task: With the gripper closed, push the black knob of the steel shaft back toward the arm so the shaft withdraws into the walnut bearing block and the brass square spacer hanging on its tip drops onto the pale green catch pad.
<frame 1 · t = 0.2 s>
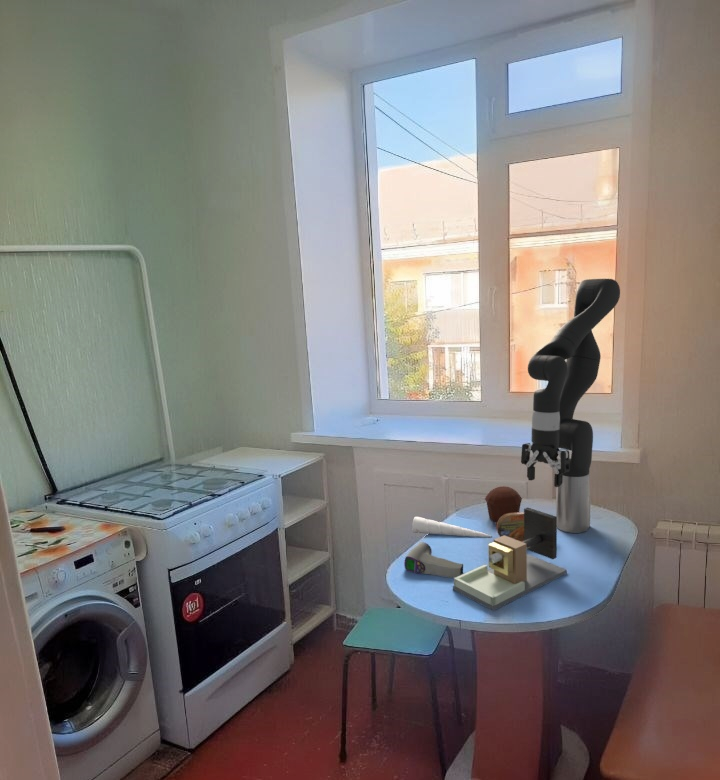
hand: (544, 483, 170), 17 cm above the table, fingers open, 8 cm apart
infrared thermometer: (437, 567, 161), on the table
muffin: (503, 519, 191), on the table
unicorn horn: (449, 534, 182), on the table
shaft: (517, 542, 151), point 9 cm above the table, slide at 0.0 cm, touching spacer
tin: (522, 541, 174), on the table
shaft rig: (510, 581, 150), on the table
spacer: (500, 570, 148), point 4 cm above the table, touching shaft
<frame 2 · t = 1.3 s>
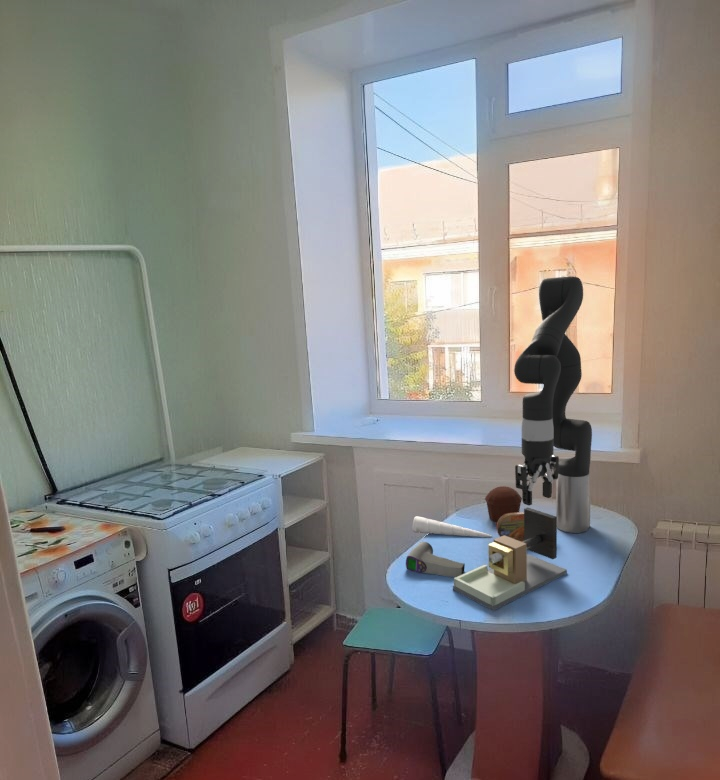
hand: (537, 500, 149), 20 cm above the table, fingers open, 7 cm apart
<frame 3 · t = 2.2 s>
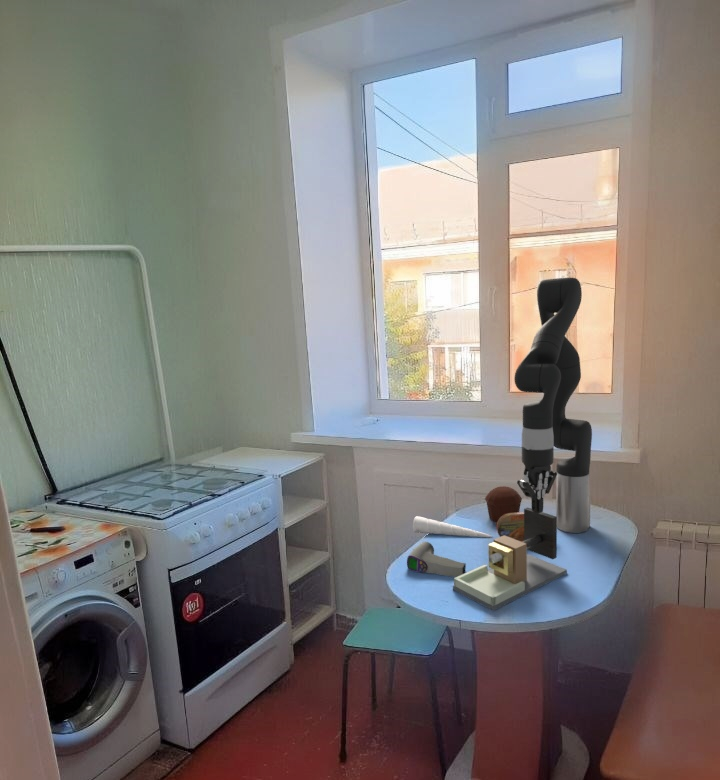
hand: (537, 511, 150), 17 cm above the table, fingers closed
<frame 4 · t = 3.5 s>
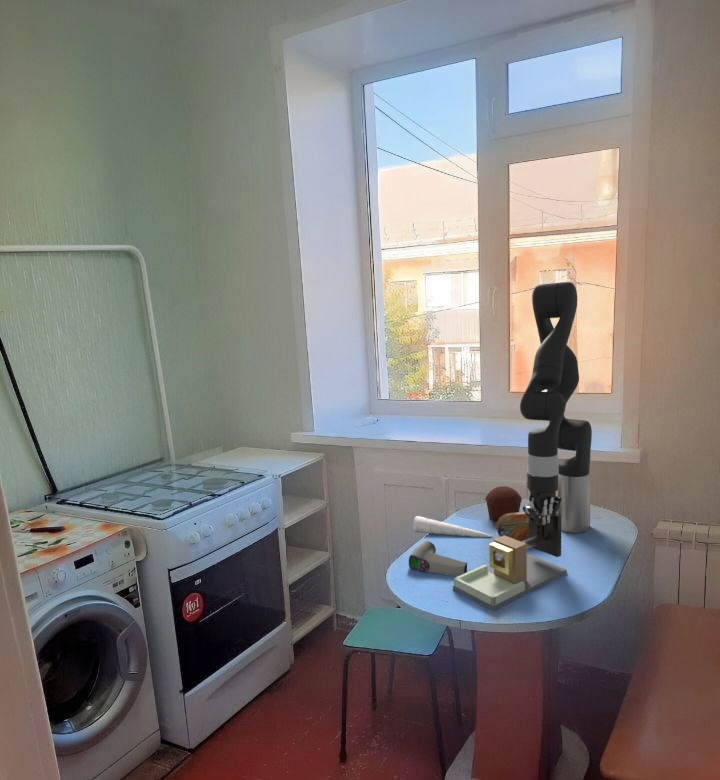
hand: (542, 536, 152), 10 cm above the table, fingers closed
shaft: (522, 540, 152), point 9 cm above the table, slide at 1.9 cm, touching hand, spacer
spacer: (502, 569, 148), point 4 cm above the table, touching shaft, shaft rig
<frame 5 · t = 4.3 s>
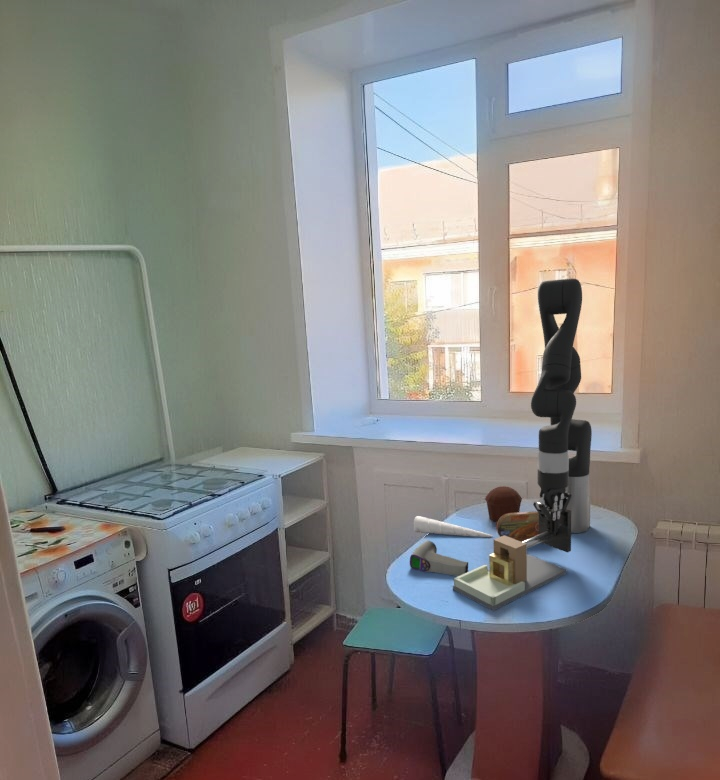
hand: (552, 532, 155), 10 cm above the table, fingers closed
shaft: (533, 535, 154), point 9 cm above the table, slide at 6.0 cm, touching hand
spacer: (501, 580, 148), point 1 cm above the table, touching shaft rig
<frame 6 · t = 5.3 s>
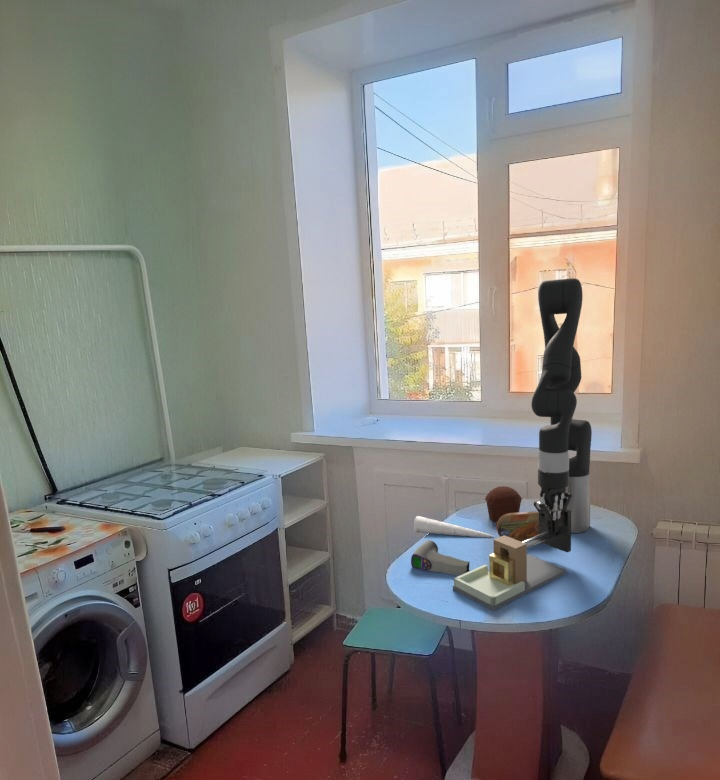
hand: (552, 532, 154), 10 cm above the table, fingers closed
shaft: (533, 535, 154), point 9 cm above the table, slide at 6.0 cm
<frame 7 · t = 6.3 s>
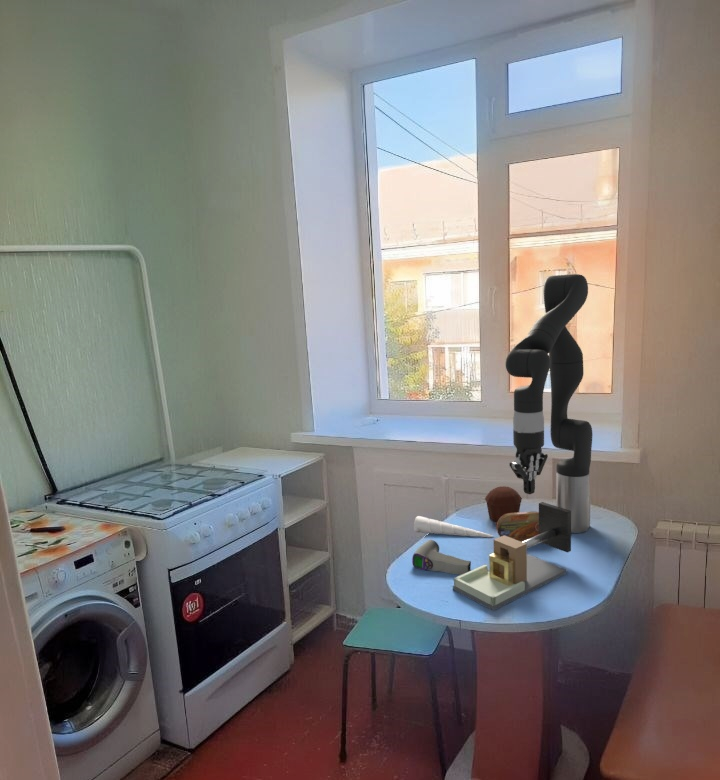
hand: (529, 493, 155), 20 cm above the table, fingers closed
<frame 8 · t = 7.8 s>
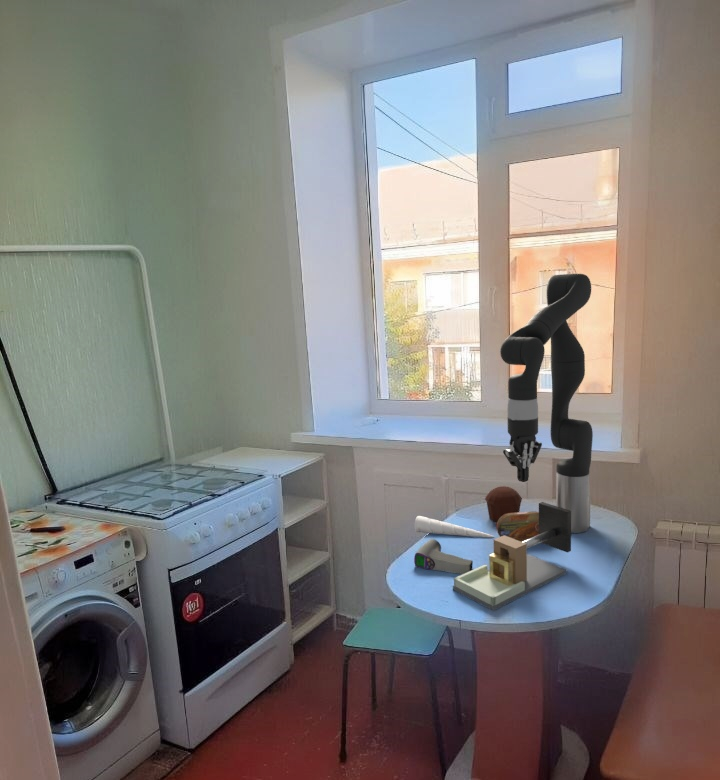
hand: (523, 480, 156), 23 cm above the table, fingers closed
at the end: shaft slide at 6.0 cm; spacer inside the target area on the shaft rig (4.3 cm from its centre), point 1.4 cm above the shaft rig's base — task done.
